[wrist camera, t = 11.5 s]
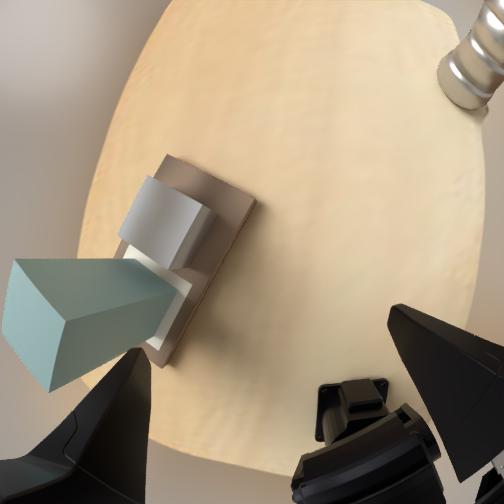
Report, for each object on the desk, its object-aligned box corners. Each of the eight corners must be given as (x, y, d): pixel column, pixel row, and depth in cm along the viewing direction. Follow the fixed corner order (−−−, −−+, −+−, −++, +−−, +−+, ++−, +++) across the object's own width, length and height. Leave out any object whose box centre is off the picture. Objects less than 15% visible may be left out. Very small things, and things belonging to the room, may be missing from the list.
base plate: (256, 200, 23) (247, 185, 18) (167, 364, 24) (141, 386, 18) (172, 158, 24) (146, 137, 19) (98, 311, 25) (65, 320, 20)
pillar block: (178, 289, 22) (65, 321, 9) (153, 336, 22) (48, 393, 10) (134, 258, 23) (14, 258, 10) (113, 304, 23) (1, 331, 10)
